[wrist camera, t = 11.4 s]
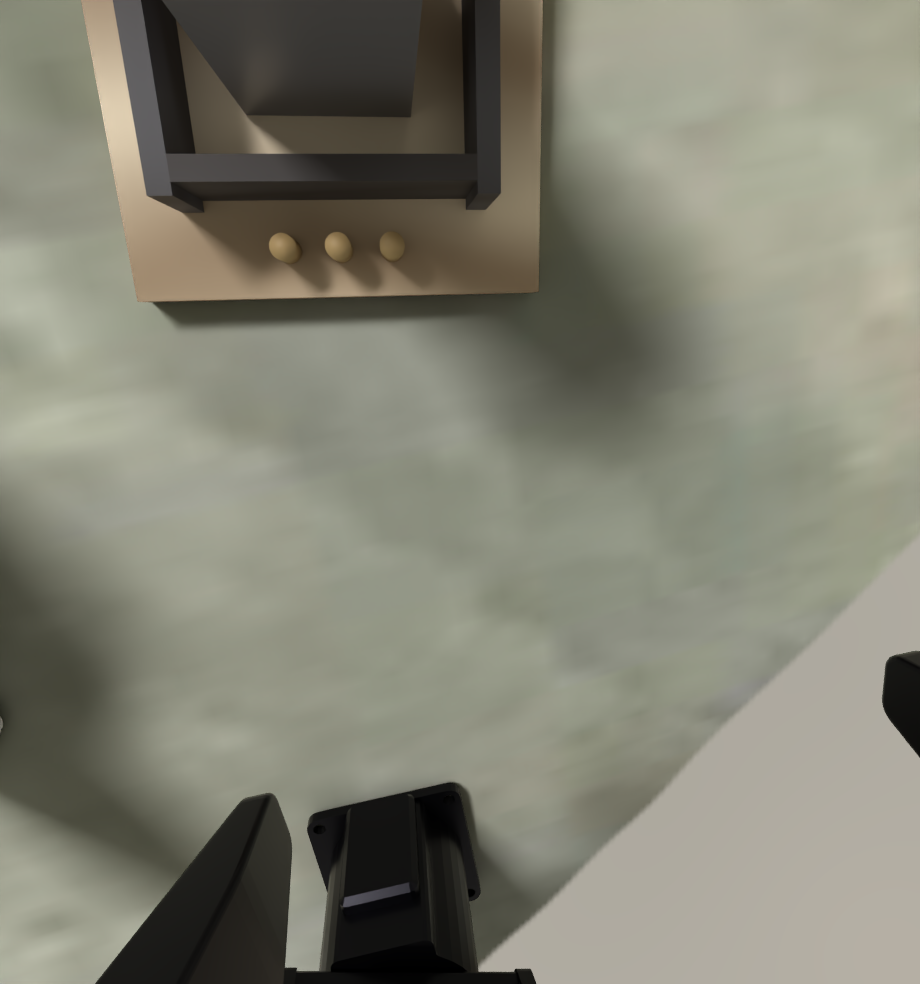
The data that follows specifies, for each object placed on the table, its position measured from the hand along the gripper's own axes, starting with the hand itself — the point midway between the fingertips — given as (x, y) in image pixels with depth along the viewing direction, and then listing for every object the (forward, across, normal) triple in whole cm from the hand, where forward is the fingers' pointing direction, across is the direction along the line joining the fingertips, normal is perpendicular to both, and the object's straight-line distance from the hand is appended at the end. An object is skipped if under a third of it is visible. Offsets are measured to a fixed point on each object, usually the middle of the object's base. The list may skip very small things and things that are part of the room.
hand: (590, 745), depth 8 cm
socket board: (+13, +2, -14) cm, 19 cm away
